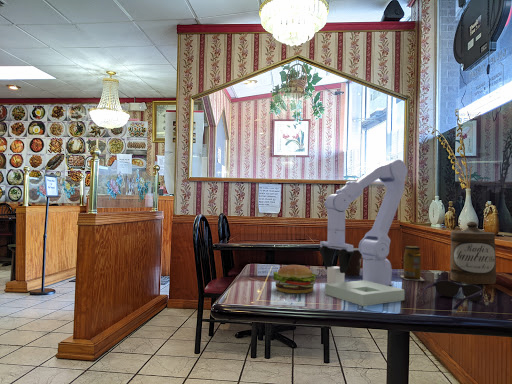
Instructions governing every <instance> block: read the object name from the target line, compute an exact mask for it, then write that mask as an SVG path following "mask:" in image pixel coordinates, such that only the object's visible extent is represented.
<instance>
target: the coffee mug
mask: <svg viewBox="0 0 512 384" xmlns="http://www.w3.org/2000/svg"><path fill="white" fill-rule="evenodd" d="M340 251H342V250H340ZM352 252H354V255H353V256H352V258H351V260H350V262H349V265H348V269H347V272H346V273H345V276H350V277H351V276H354V277H357V276H360V273H361V265H362V260H363V257H362V254H361V253H360V251H359V247H358V248H357V247H353V251H352Z"/></svg>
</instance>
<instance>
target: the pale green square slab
mask: <svg viewBox="0 0 512 384" xmlns="http://www.w3.org/2000/svg"><path fill="white" fill-rule="evenodd" d="M324 288H325V289H324V293H325V295H327V296H330V297H334V298H337V299H339V300H343V301H345V302H349V303H353V304H355V305H359V306H362V307H364V306H373V305H380V304H387V303H394V302H402V301H405V289H403V288H399V287H396V286H392V285H383V284H378V283H374V282H370V281H366V280H363V279H362V280H354V281H353V280H352V281H345V282H341V283H331V284H327V283H325V285H324Z"/></svg>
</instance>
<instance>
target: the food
mask: <svg viewBox="0 0 512 384" xmlns="http://www.w3.org/2000/svg"><path fill="white" fill-rule="evenodd" d="M317 276H318V275H317V274H315V273H313V271H312V270H311V269H310V268H308V267H307V266H305V265H301V264H287V265H283V266H282V267H280V268H279V269H277V271H273V278H272V279H273V281H274V280H275V287H276V288H275V289H276V290H277V291H278V290H279V292H281V293H284V292H285V293H286V294H292V293H295V295H298V294H300V293H304V294H308V293H312V292H314V291H313V290H314V287H315V286H314V285H316V280H317V278H316V277H317Z"/></svg>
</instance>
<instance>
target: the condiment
mask: <svg viewBox="0 0 512 384" xmlns="http://www.w3.org/2000/svg"><path fill="white" fill-rule="evenodd" d="M420 249H421V248H420V247H419V246H416V245H415V246H414V245H406V246H405V247H404V253H403V275H400V277H401V278H402V279H404V280H408V281H421V282H422V281H425V279H424V278H422V277H421V276H422V274H421V273H422V269H421V268H422V267H421V265H422V263H421V261H422V256H421V255H422V254H420V252H421V250H420Z"/></svg>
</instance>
